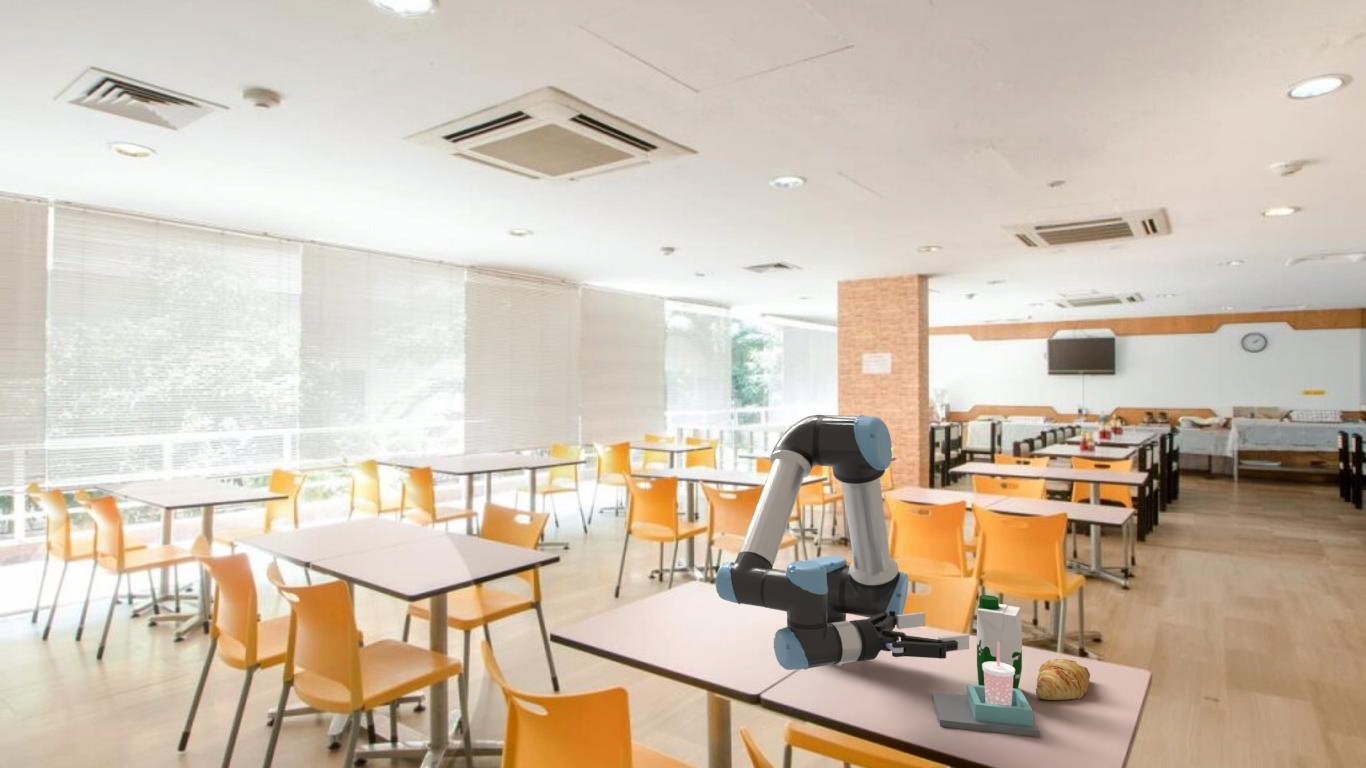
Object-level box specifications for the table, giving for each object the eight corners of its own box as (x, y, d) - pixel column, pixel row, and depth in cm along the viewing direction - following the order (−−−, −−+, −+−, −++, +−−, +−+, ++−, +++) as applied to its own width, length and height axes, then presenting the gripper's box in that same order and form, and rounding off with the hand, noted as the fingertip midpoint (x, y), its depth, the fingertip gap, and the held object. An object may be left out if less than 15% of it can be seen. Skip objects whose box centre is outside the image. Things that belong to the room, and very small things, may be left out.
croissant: (1053, 723, 149) (1071, 696, 146) (1011, 687, 156) (1028, 660, 154) (1096, 696, 163) (1113, 670, 160) (1055, 663, 170) (1072, 638, 167)
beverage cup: (1013, 721, 140) (1013, 649, 140) (980, 714, 143) (980, 643, 143) (1016, 709, 145) (1016, 640, 145) (983, 702, 148) (983, 635, 148)
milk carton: (980, 678, 164) (981, 591, 164) (1024, 687, 159) (1024, 597, 160) (973, 691, 157) (974, 600, 157) (1018, 701, 152) (1019, 607, 152)
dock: (939, 726, 140) (940, 704, 140) (931, 697, 154) (931, 677, 154) (1039, 737, 136) (1039, 714, 136) (1022, 706, 149) (1022, 686, 150)
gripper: (821, 638, 150) (908, 627, 156) (889, 686, 126) (988, 672, 132) (821, 602, 150) (908, 593, 156) (889, 644, 126) (988, 631, 132)
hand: (945, 629), depth 144 cm, fingers open, 13 cm apart
